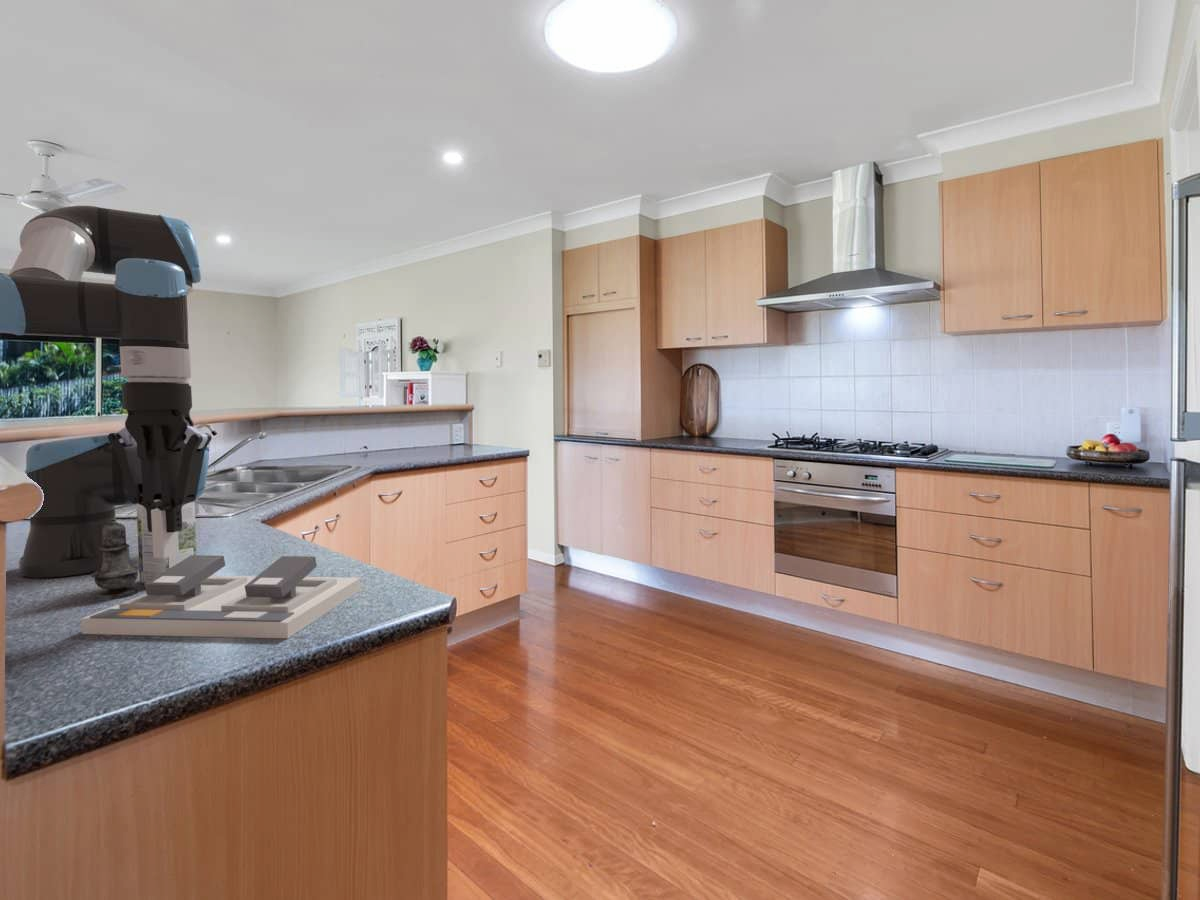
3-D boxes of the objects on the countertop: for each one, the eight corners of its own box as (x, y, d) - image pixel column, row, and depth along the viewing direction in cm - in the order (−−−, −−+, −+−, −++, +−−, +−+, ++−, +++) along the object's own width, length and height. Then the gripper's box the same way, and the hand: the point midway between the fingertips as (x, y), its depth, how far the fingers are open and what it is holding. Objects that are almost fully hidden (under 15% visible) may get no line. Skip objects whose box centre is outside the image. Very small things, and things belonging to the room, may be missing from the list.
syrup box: (171, 574, 106) (167, 490, 105) (199, 576, 105) (194, 491, 104) (139, 583, 101) (133, 495, 100) (167, 586, 99) (162, 496, 98)
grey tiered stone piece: (114, 601, 91) (110, 521, 90) (82, 599, 93) (77, 519, 92) (151, 590, 97) (146, 514, 96) (120, 587, 98) (115, 513, 97)
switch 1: (193, 565, 92) (191, 554, 92) (225, 565, 92) (223, 555, 91) (146, 594, 83) (144, 583, 83) (182, 595, 83) (179, 584, 83)
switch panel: (195, 587, 98) (194, 565, 98) (360, 590, 96) (360, 567, 96) (82, 633, 78) (80, 606, 78) (288, 638, 76) (286, 610, 76)
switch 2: (283, 566, 91) (282, 555, 91) (316, 566, 91) (315, 555, 90) (246, 596, 83) (244, 585, 82) (282, 597, 82) (280, 586, 82)
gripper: (85, 379, 79) (97, 561, 81) (183, 380, 78) (192, 564, 80) (133, 381, 86) (143, 547, 88) (223, 381, 85) (230, 549, 87)
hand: (166, 555), depth 84 cm, fingers closed
